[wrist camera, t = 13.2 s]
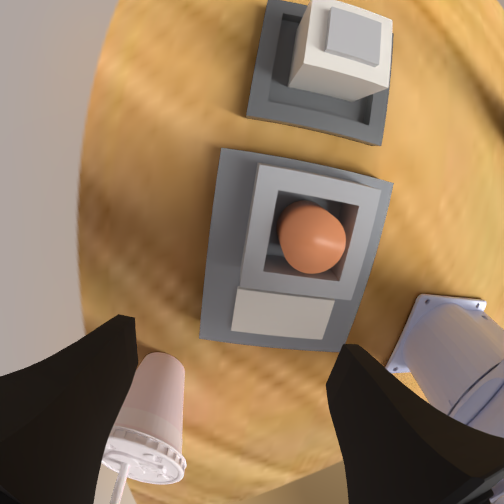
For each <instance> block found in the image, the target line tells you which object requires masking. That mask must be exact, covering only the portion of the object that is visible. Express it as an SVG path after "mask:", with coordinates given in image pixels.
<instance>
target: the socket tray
mask: <svg viewBox="0 0 504 504" xmlns="http://www.w3.org/2000/svg"><path fill="white" fill-rule="evenodd" d="M306 8H307V6H306V5H302V4H297V3H292V2H287V1H282V0H268V2H267V7H266V12H265V17H264V22H263V27H262V32H261V37H260V42H259V47H258V53H257V58H256V63H255V69H254V74H253V80H252V85H251V91H250V97H249V102H248V108H247V114H246V118H248V119H254V120H261V121H267V122H273V123H278V124H284V125H289V126H294V127H299V128H303V129H308V130H313V131H317V132H321V133H326V134H330V135H334V136H338V137H342V138H345V139H349V140H353V141H357V142H360V143H364V144H367V145H370V146H381V144H382V138H383V132H384V125H385V119H386V111H387V104H388V95H389V88H387V89H385V90H382V91H379V92H377V93H374V94H371V95H369V96H366V97H364V98H361V99H359V100H356V101H354V102H349V101H346V100H342V99H338V98H335V97H331V96H327V95H323V94H318V93H314V92H310V91H305V90H300V89H295V88H290V87H288V82H289V75H290V69H291V62H292V56H293V49H294V43H295V36H296V31H297V28H298V26H299V24H300V22H301V19H302V17H303V15H304V13H305V11H306ZM392 51H393V33H392V49H391V65H392ZM391 65H390V76H391ZM389 86H390V78H389Z"/></svg>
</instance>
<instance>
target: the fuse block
mask: <svg viewBox="0 0 504 504" xmlns="http://www.w3.org/2000/svg"><path fill="white" fill-rule="evenodd" d="M391 49H392V20H391V19H388V18H386V17H383V16H381V15H378V14H376V13H373V12H370V11H367V10H365V9H362V8H359V7H356V6H353V5H350V4H346V3H343V2H340V1H336V0H310V2H309V4H308V6H307V8H306V11H305V13H304V15H303V17H302V19H301V22H300V24H299V26H298V28H297V31H296V36H295V43H294V49H293V56H292V62H291V69H290V75H289V82H288V87H290V88H295V89H300V90H305V91H310V92H314V93H318V94H323V95H327V96H331V97H335V98H338V99H342V100H346V101H349V102H354V101H356V100H359V99H361V98H364V97H366V96H369V95H371V94H374V93H377V92H379V91H382V90H385V89H387V88H389V78H390V65H391Z"/></svg>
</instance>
